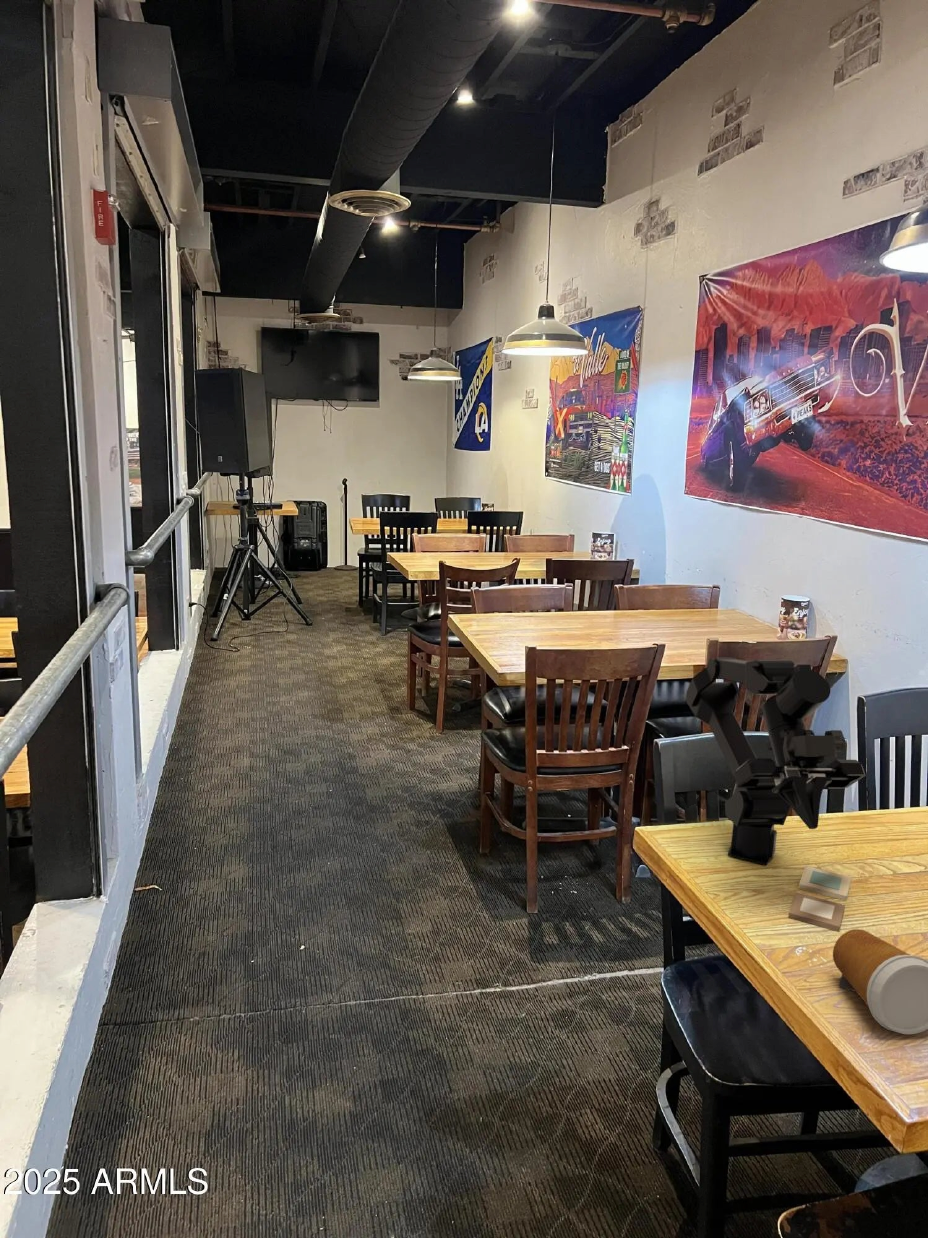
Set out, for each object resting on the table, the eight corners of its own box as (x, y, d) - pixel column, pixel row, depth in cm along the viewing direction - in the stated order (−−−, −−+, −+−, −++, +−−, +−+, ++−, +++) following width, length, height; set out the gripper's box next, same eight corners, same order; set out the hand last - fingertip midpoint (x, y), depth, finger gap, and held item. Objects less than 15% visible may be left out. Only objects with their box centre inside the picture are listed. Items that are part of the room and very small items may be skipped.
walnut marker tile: (788, 917, 126) (789, 912, 125) (795, 896, 132) (796, 891, 131) (839, 931, 122) (839, 926, 122) (844, 909, 128) (845, 904, 128)
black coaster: (839, 986, 110) (839, 985, 109) (842, 970, 113) (843, 969, 113) (873, 997, 108) (873, 996, 108) (875, 980, 111) (875, 979, 111)
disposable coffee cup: (808, 968, 111) (860, 1018, 99) (843, 905, 111) (899, 948, 99) (866, 998, 112) (925, 1051, 100) (901, 935, 112) (964, 981, 100)
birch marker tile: (798, 888, 134) (799, 883, 134) (805, 870, 140) (805, 865, 140) (846, 901, 131) (847, 895, 131) (850, 881, 137) (851, 876, 137)
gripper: (755, 708, 125) (781, 810, 116) (869, 710, 128) (902, 810, 120) (723, 738, 134) (746, 835, 126) (831, 740, 137) (859, 834, 129)
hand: (813, 828), depth 125 cm, fingers closed
